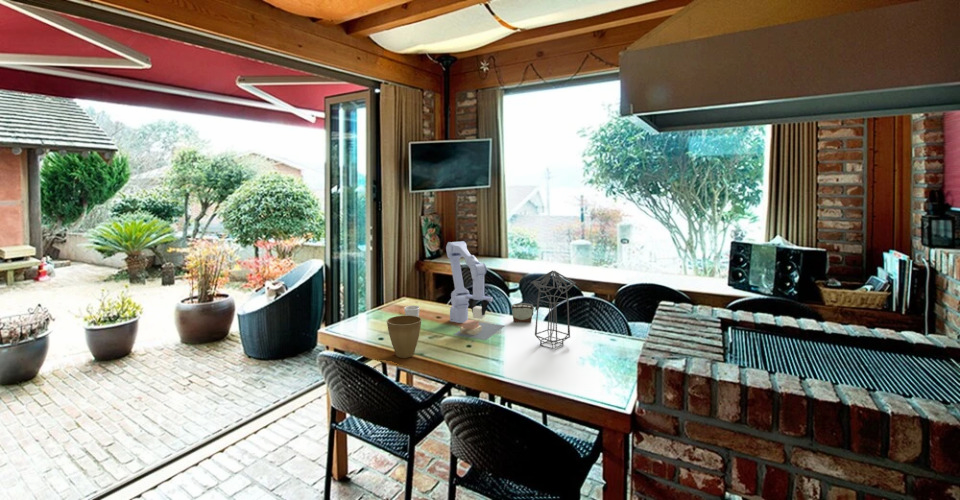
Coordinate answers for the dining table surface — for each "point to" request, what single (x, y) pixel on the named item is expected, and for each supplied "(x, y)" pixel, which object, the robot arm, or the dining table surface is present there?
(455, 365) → the dining table surface
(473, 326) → the middle block
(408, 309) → the dixie cup
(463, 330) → the bottom slab
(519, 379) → the dining table surface
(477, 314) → the top block
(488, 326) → the mat
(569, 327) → the geometric lantern
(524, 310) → the food container
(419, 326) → the plant pot
